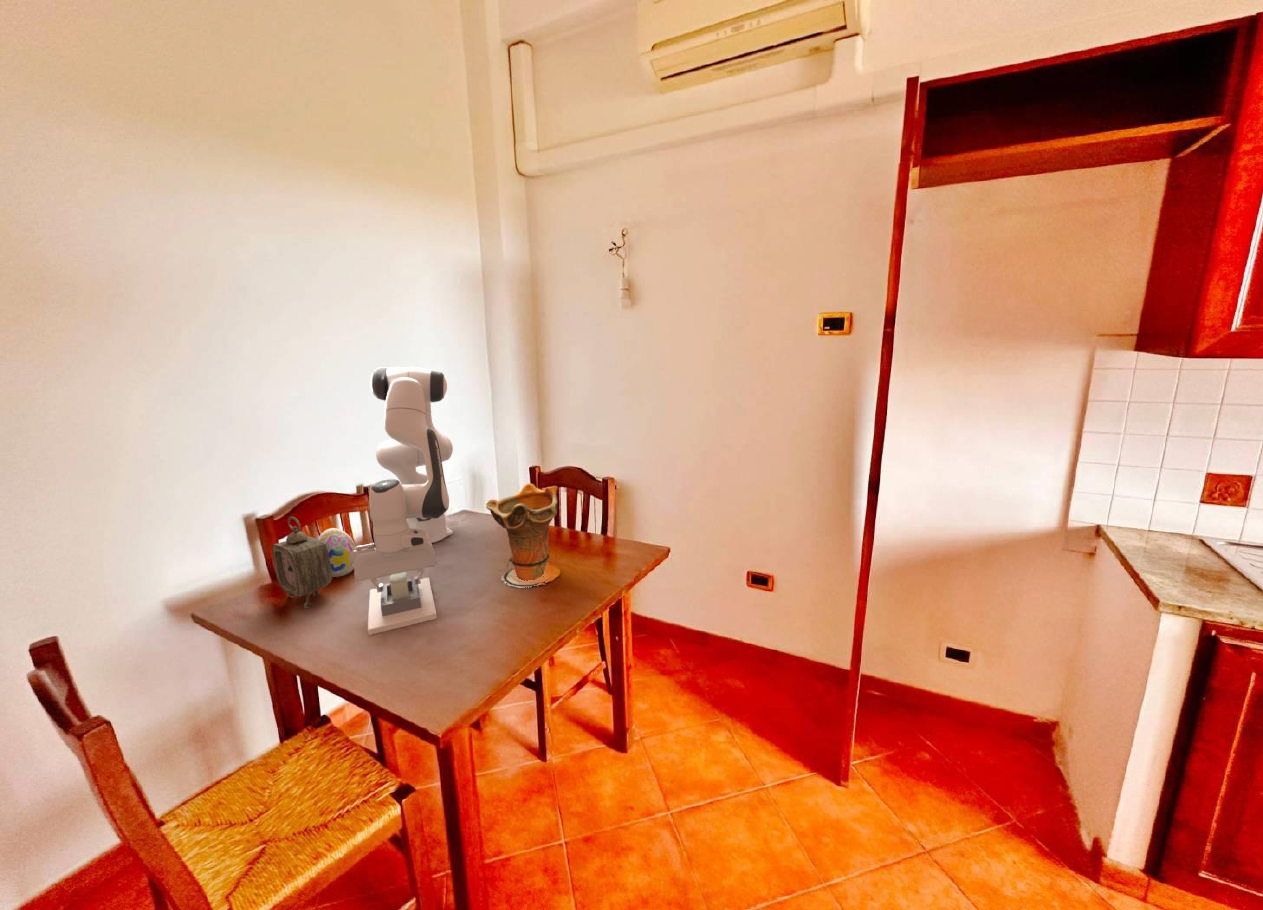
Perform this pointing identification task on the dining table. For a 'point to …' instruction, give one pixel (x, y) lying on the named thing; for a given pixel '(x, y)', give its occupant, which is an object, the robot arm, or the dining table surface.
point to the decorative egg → (338, 550)
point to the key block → (399, 586)
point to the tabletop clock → (301, 564)
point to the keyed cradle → (400, 607)
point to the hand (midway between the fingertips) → (399, 587)
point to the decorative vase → (526, 530)
